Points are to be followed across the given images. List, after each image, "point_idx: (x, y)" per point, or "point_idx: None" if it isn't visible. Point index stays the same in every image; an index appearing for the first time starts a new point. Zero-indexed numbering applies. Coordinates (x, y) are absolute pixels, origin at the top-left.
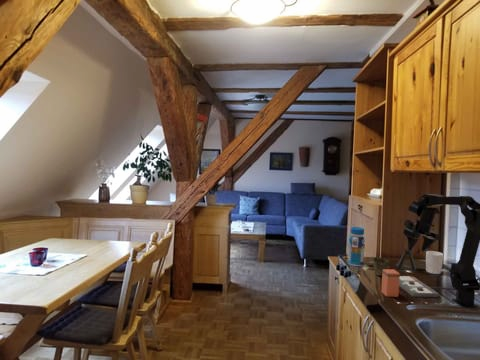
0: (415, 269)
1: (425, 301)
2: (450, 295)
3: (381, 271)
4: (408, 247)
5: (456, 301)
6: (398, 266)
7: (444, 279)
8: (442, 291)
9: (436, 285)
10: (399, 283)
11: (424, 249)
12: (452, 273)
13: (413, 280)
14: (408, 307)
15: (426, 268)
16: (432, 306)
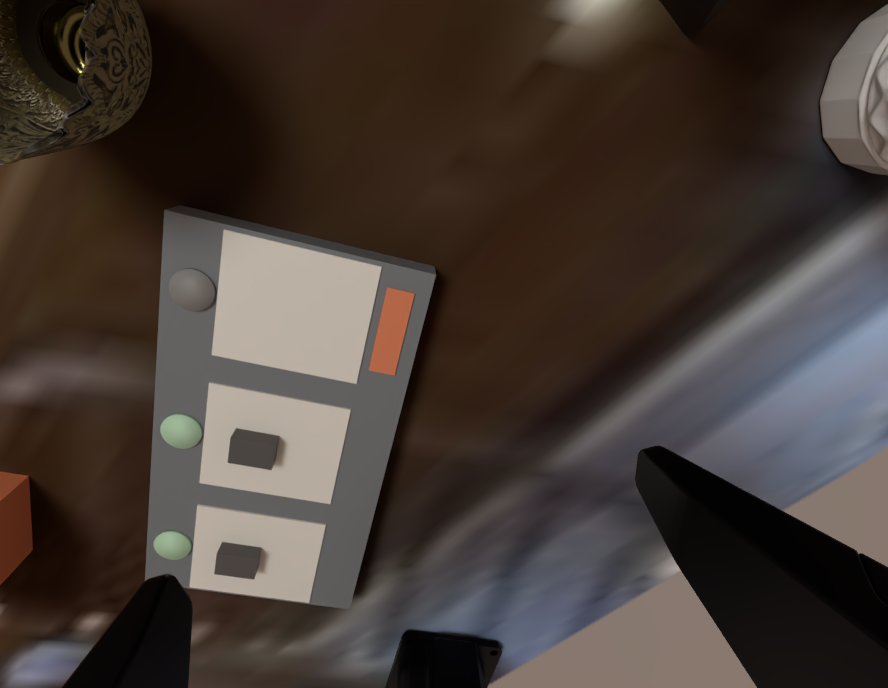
0: (698, 26)
1: (202, 623)
2: (466, 576)
3: (32, 123)
4: (100, 645)
5: (399, 665)
6: None
7: (755, 318)
8: (471, 520)
9: (535, 422)
10: (159, 389)
11: (666, 539)
12: None
13: (341, 376)
14: (24, 670)
15: (869, 39)
16: (200, 673)
